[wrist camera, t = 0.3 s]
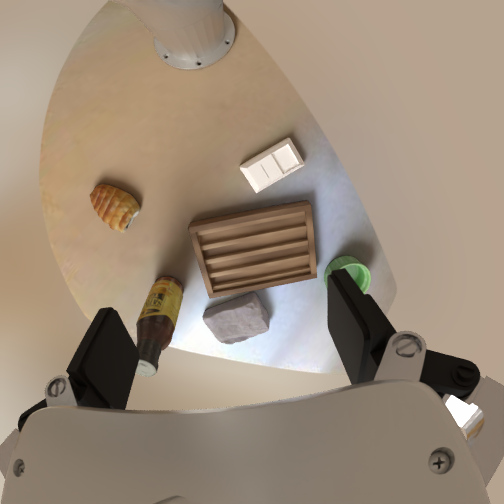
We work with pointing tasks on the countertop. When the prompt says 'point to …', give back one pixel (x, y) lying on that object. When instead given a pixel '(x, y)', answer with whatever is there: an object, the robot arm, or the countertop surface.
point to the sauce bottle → (157, 323)
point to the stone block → (237, 319)
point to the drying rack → (255, 248)
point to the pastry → (114, 206)
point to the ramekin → (351, 271)
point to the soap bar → (272, 165)
